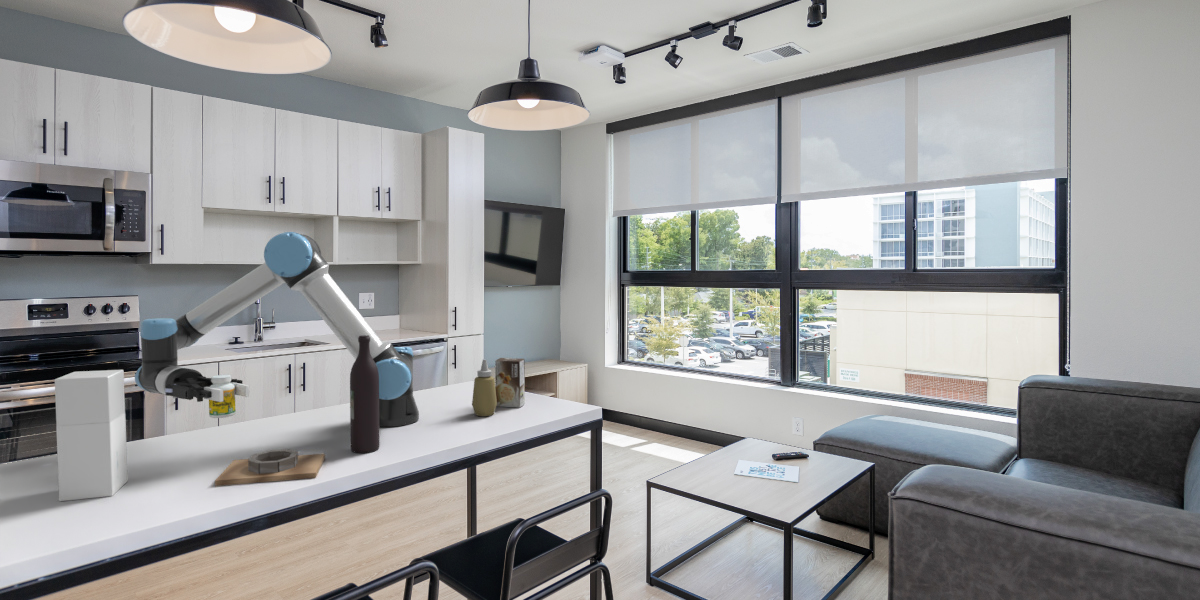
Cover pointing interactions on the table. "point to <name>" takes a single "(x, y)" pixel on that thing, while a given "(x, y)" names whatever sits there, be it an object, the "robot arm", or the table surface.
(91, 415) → the tall white carton
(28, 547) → the table surface
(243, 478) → the board
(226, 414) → the supplement bottle
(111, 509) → the table surface
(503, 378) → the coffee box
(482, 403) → the squeeze bottle
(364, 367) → the wine bottle
